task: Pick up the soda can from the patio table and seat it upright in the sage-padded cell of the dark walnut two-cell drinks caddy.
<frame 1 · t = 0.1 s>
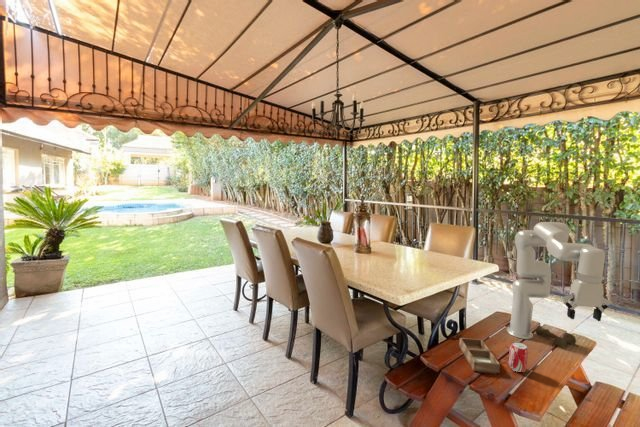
hand: (583, 318, 125), 31 cm above the table, fingers open, 9 cm apart
drinks caddy: (477, 358, 149), on the table
soda can: (516, 369, 142), on the table
kendama: (556, 342, 166), on the table
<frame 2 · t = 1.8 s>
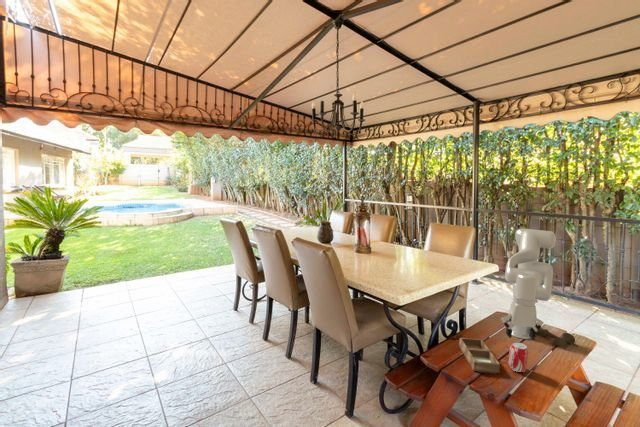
hand: (520, 337, 139), 16 cm above the table, fingers open, 9 cm apart
nothing on the table moved.
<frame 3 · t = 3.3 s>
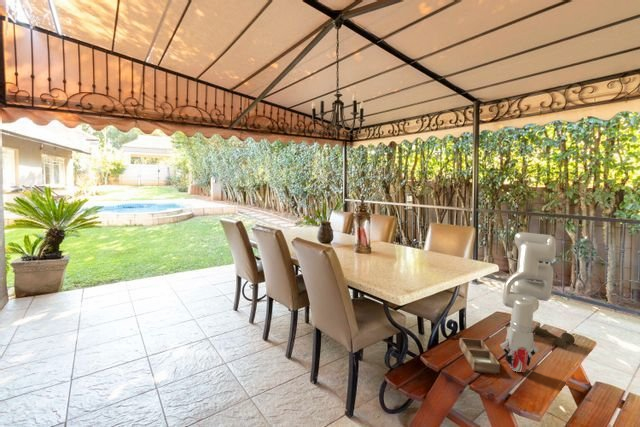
hand: (517, 362, 141), 3 cm above the table, fingers closed on soda can, 7 cm apart
soda can: (516, 369, 141), on the table, touching gripper
everything else where it was.
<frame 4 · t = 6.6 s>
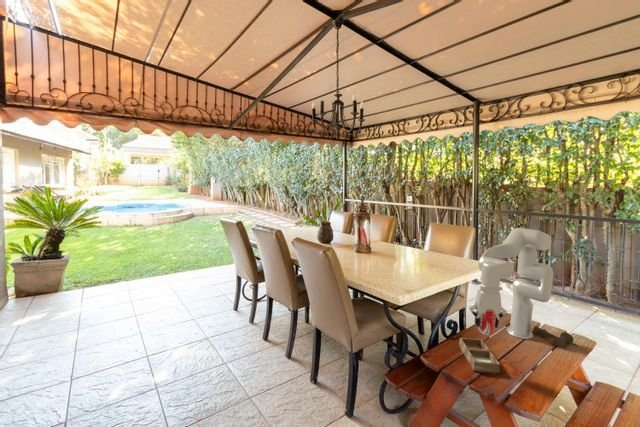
hand: (486, 325, 142), 20 cm above the table, fingers closed on soda can, 7 cm apart
soda can: (485, 332, 142), point 16 cm above the table, touching gripper
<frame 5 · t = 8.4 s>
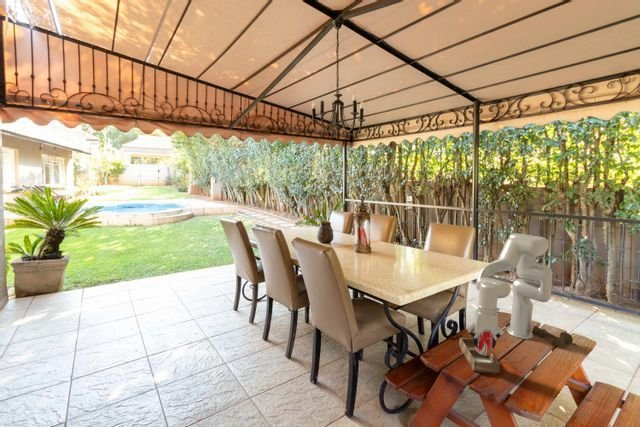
hand: (483, 345, 143), 10 cm above the table, fingers closed on soda can, 7 cm apart
soda can: (482, 352, 143), point 6 cm above the table, touching gripper
when the fingers open (6 cm above the table, at t = 9.7 s): soda can drops 1 cm, resting on drinks caddy.
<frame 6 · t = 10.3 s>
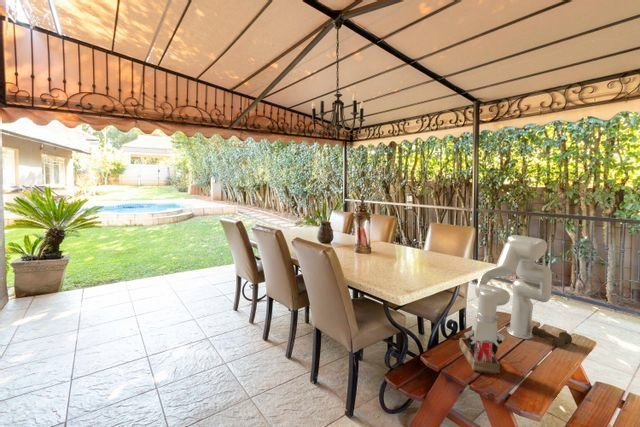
hand: (482, 351, 143), 7 cm above the table, fingers open, 9 cm apart
soda can: (482, 363, 144), point 1 cm above the table, touching drinks caddy
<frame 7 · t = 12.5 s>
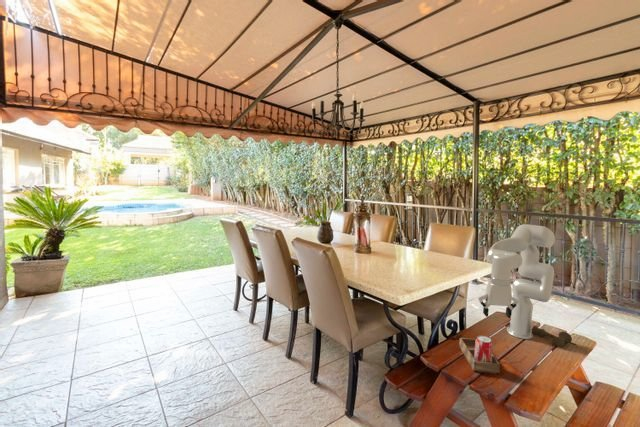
hand: (496, 316, 143), 23 cm above the table, fingers open, 9 cm apart
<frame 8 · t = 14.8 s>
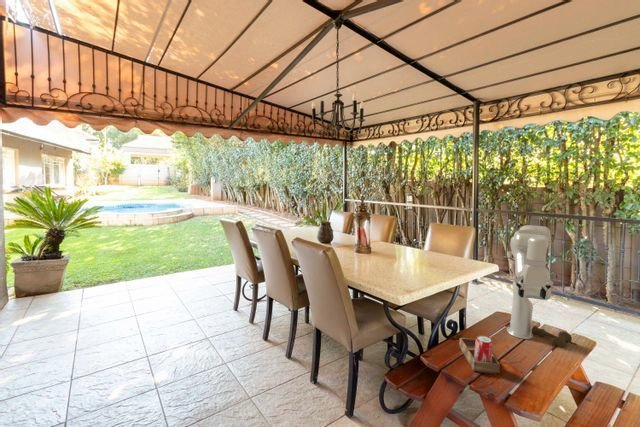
hand: (531, 297, 149), 30 cm above the table, fingers open, 9 cm apart
at the end: soda can 0.1 cm from the target spot on the drinks caddy, point 1.0 cm above the drinks caddy's base; soda can tilted 0°; the gripper is holding nothing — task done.
